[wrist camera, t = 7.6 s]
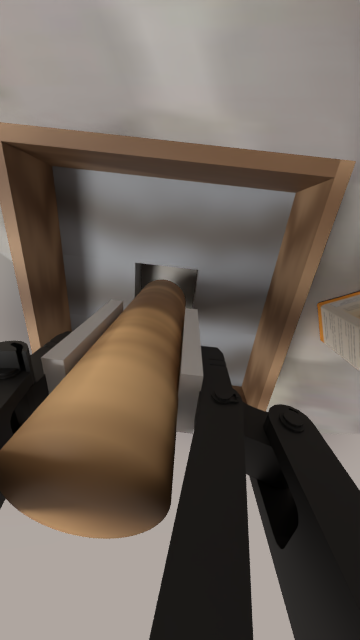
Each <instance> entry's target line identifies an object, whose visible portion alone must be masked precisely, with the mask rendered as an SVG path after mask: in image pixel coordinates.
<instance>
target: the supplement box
mask: <svg viewBox="0 0 360 640" xmlns="http://www.w3.org/2000/svg"><path fill="white" fill-rule="evenodd" d="M317 306H318V318H319V329H320V340H321V341H322V342H324V343H325V344H326V345H327V346H329V347H330V348H331V349H332V350H334V351H335V352H336V353H337V354H339V355H340V356H341V357H342V358H344V359H345V360H346V361H347V362H349V363H350V364H351V365H352V366H354V367H355V368H356V369H358V370H359V371H360V292H356V293H353V294H349V295H346V296H342V297H339V298H335V299H332V300H328V301H324V302H321V303H318V304H317Z"/></svg>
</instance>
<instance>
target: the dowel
mask: <svg viewBox="0 0 360 640" xmlns="http://www.w3.org/2000/svg"><path fill="white" fill-rule="evenodd" d="M185 306H186V301H185V296H184V293H183V292H182V290H181V289H180V288H179V287H178V286H177V285H176V284H175V283H173V282H171V281H168V280H155V281H152V282H150V283H148V284H147V285H146V286H145V287H144V288H143V289H142V290H141V291H140V293H139V294H138V295H137V296H136V297H135V298H134V299H133V300H132V302H131V303H130V304H129V305H128V306H127V307H126V308H125V309H124V311H123V312H122V313H121V314H120V315H119V316H118V317H117V319H116V320H115V321H114V322H113V323H112V324H111V325H110V326H109V328H108V329H107V330H106V331H105V332H104V333H103V334H102V335H101V337H100V338H99V339H98V340H97V341H96V342H95V343H94V345H93V346H92V347H91V348H90V349H89V350H88V351H87V352H86V354H85V355H84V356H83V357H82V358H81V359H80V360H79V361H78V363H77V364H76V365H75V366H74V367H73V368H72V369H71V371H70V372H69V373H68V374H67V375H66V376H65V377H64V378H63V380H62V381H61V382H60V383H59V384H58V385H57V386H56V387H55V389H54V390H53V391H52V392H51V393H50V394H49V395H48V397H47V398H46V399H45V400H44V401H43V402H42V403H41V404H40V406H39V407H38V408H37V409H36V410H35V411H34V412H33V413H32V415H31V416H30V417H29V418H28V419H27V420H26V421H25V423H24V424H23V425H22V426H21V427H20V428H19V429H18V430H17V432H16V433H15V434H14V435H13V436H12V437H11V438H10V439H9V441H8V442H7V443H6V444H5V445H4V446H3V447H2V448H1V450H0V492H1V493H2V494H3V496H4V497H5V498H6V499H7V500H8V501H9V502H10V503H11V504H12V505H13V506H14V507H15V508H16V509H18V510H19V511H20V512H22V513H23V514H24V515H26V516H28V517H29V518H31V519H33V520H35V521H37V522H39V523H41V524H43V525H45V526H48V527H50V528H52V529H55V530H58V531H61V532H65V533H68V534H73V535H77V536H83V537H89V538H106V539H107V538H109V539H110V538H122V537H129V536H133V535H137V534H140V533H143V532H145V531H148V530H150V529H151V528H153V527H155V526H156V525H158V524H159V523H160V522H161V521H162V520H163V519H164V518H165V516H166V515H167V513H168V511H169V509H170V505H171V494H172V480H173V468H174V454H175V440H176V427H177V414H178V389H179V376H180V364H181V351H182V339H183V326H184V317H185Z"/></svg>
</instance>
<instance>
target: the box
mask: <svg viewBox="0 0 360 640" xmlns="http://www.w3.org/2000/svg"><path fill="white" fill-rule="evenodd" d="M355 163H356V161H349V160H340V159H330V158H321V157H312V156H303V155H294V154H285V153H276V152H266V151H257V150H248V149H239V148H230V147H221V146H212V145H203V144H193V143H184V142H175V141H166V140H157V139H148V138H139V137H129V136H120V135H111V134H102V133H93V132H84V131H75V130H65V129H56V128H47V127H38V126H29V125H20V124H11V123H2V122H0V204H1V209H2V214H3V218H4V223H5V228H6V232H7V237H8V242H9V247H10V251H11V256H12V261H13V265H14V270H15V274H16V279H17V284H18V289H19V293H20V298H21V303H22V308H23V312H24V317H25V322H26V326H27V331H28V336H29V340H30V345H31V350H32V354H33V353H34V352H35V351H37V350H38V349H39V348H41V347H43V345H45V344H46V343H47V342H50V340H51V339H53V338H54V337H55V336H57V335H59V334H61V333H64V332H66V331H71V332H73V331H74V330H75V329H76V328H77V327H79V326H80V325H81V324H82V323H84V322H85V321H86V320H87V319H88V318H90V317H91V316H92V315H93V314H95V313H96V312H97V311H98V310H99V309H101V308H102V307H103V306H104V305H105V304H107V303H108V302H109V301H110V300H119V301H123V311H124V309H125V308H126V307H127V306H128V305H129V304H130V303H131V302H132V300H133V299H134V298H135V297H136V296H137V295H138V294H139V293H140V291H141V263H143V264H152V265H161V266H170V267H179V268H187V269H196V270H197V277H196V284H195V291H194V299H193V306H192V309H198V321H199V332H200V343H201V346H208V347H217V348H218V349H219V350H220V351H221V352H222V353H223V355H224V358H225V362H226V367H227V370H228V373H229V377H230V381H231V384H232V388H233V389H235V390H236V391H237V392H238V393H239V395H240V396H241V398H242V401H243V402H244V403H246V404H248V405H250V406H252V407H255V408H257V409H260V410H263V411H265V412H266V409H267V406H268V404H269V401H270V398H271V395H272V392H273V390H274V387H275V384H276V381H277V379H278V376H279V373H280V370H281V368H282V365H283V362H284V359H285V356H286V354H287V351H288V348H289V345H290V343H291V340H292V337H293V334H294V331H295V329H296V326H297V323H298V320H299V318H300V315H301V312H302V309H303V307H304V304H305V301H306V298H307V295H308V293H309V290H310V287H311V284H312V282H313V279H314V276H315V273H316V271H317V268H318V265H319V262H320V259H321V257H322V254H323V251H324V248H325V246H326V243H327V240H328V237H329V235H330V232H331V229H332V226H333V223H334V221H335V218H336V215H337V212H338V210H339V207H340V204H341V201H342V199H343V196H344V193H345V190H346V187H347V185H348V182H349V179H350V176H351V174H352V171H353V168H354V165H355Z"/></svg>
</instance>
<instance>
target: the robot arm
mask: <svg viewBox="0 0 360 640" xmlns="http://www.w3.org/2000/svg"><path fill="white" fill-rule="evenodd" d="M122 312H123V301H119V300H110V301H109V302H108V303H107V304H105V305H104V306H103V307H102V308H101V309H99V310H98V311H97V312H96V313H95V314H93V315H92V316H91V317H90V318H88V319H87V320H86V321H85V322H84V323H82V324H81V325H80V326H79V327H77V328H76V329H75V330H74V331H73V332H71V331H66V332H64V333H61V334H59V335H57V336H55V337H54V338H53V339H51V340H50V342H47V343H46V344H45V345H43V347H41V348H39V349H38V350H37V351H35V352H34V353H33V354H32V355H30V353H29V348H28V345H27V344H26V343H24V342H22V341H5V342H0V450H1V448H2V447H3V446H4V445H5V444H6V443H7V442H8V441H9V439H10V438H11V437H12V436H13V435H14V434H15V433H16V432H17V430H18V429H19V428H20V427H21V426H22V425H23V424H24V423H25V421H26V420H27V419H28V418H29V417H30V416H31V415H32V413H33V412H34V411H35V410H36V409H37V408H38V407H39V406H40V404H41V403H42V402H43V401H44V400H45V399H46V398H47V397H48V395H49V394H50V393H51V392H52V391H53V390H54V389H55V387H56V386H57V385H58V384H59V383H60V382H61V381H62V380H63V378H64V377H65V376H66V375H67V374H68V373H69V372H70V371H71V369H72V368H73V367H74V366H75V365H76V364H77V363H78V361H79V360H80V359H81V358H82V357H83V356H84V355H85V354H86V352H87V351H88V350H89V349H90V348H91V347H92V346H93V345H94V343H95V342H96V341H97V340H98V339H99V338H100V337H101V335H102V334H103V333H104V332H105V331H106V330H107V329H108V328H109V326H110V325H111V324H112V323H113V322H114V321H115V320H116V319H117V317H118V316H119V315H120V314H121V313H122ZM193 431H194V434H193ZM176 432H184V433H192V434H193V439H192V443H191V448H190V452H189V457H188V462H187V466H186V471H185V476H184V481H183V485H182V490H181V495H180V499H179V504H178V508H177V513H176V518H175V522H174V527H173V532H172V536H171V541H170V545H169V550H168V555H167V559H166V564H165V569H164V574H163V578H162V583H161V588H160V592H159V596H158V601H157V606H156V611H155V615H154V620H153V625H152V629H151V634H150V638H149V640H253V627H252V605H251V604H252V603H251V583H250V582H251V581H250V561H249V560H250V558H249V536H248V514H247V491H246V474H248V475H249V476H250V480H251V483H252V487H253V491H254V494H255V498H256V502H257V505H258V509H259V512H260V516H261V520H262V523H263V527H264V530H265V534H266V537H267V541H268V545H269V548H270V552H271V556H272V559H273V563H274V566H275V570H276V574H277V577H278V580H279V584H280V588H281V592H282V595H283V599H284V602H285V605H286V610H287V613H288V617H289V620H290V624H291V628H292V631H293V634H294V638H295V640H360V490H359V489H358V488H357V486H356V485H355V483H354V482H353V480H352V479H351V477H350V476H349V475H348V473H347V472H346V470H345V469H344V467H343V466H342V464H341V463H340V462H339V460H338V459H337V457H336V456H335V454H334V453H333V451H332V450H331V448H330V447H329V446H328V444H327V443H326V441H325V440H324V439H323V437H322V435H321V434H320V433H319V431H318V430H317V428H316V427H315V425H314V424H313V423H312V421H311V420H310V419H309V418H308V417H307V416H306V415H304V414H303V413H302V412H300V411H299V410H297V409H295V408H293V407H290V406H286V405H282V404H281V405H274V406H272V407H271V408H270V409H269V412H265V411H263V410H260V409H257V408H255V407H252V406H250V405H248V404H246V403H244V402H243V401H242V398H241V396H240V395H239V393H238V392H237V391H236V390H235V389H233V388H232V384H231V381H230V377H229V373H228V370H227V367H226V362H225V358H224V355H223V353H222V352H221V351H220V350H219V349H218V348H217V347H208V346H201V343H200V332H199V321H198V309H189V308H185V317H184V326H183V339H182V351H181V364H180V376H179V389H178V414H177V427H176ZM5 499H6V498H5V497H4V496H3V494H2V493H1V492H0V508H1V507H2V504H3V503H4V501H5Z"/></svg>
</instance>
